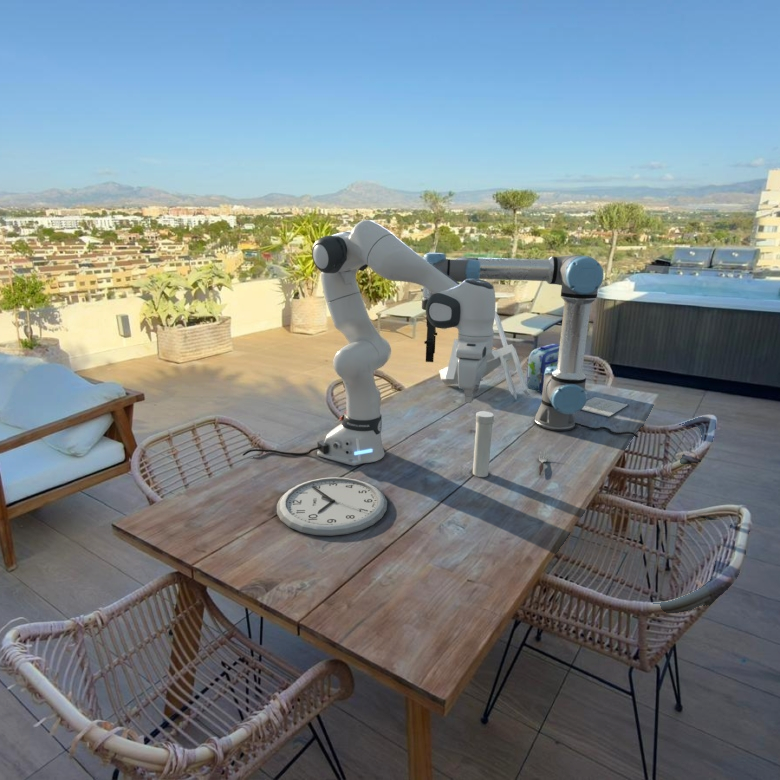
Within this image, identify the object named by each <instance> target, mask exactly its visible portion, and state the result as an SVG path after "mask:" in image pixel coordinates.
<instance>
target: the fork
mask: <svg viewBox="0 0 780 780" xmlns="http://www.w3.org/2000/svg"><path fill="white" fill-rule="evenodd" d="M538 461H539V462H540V465H539V467H538V468H539V469H538V470H539V475H541V474H542V472H543V470H544V463H546V462H547V461H548V451H547V452H546V454H544V452H542V451H540V453H539V457H538Z"/></svg>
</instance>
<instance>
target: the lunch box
mask: <svg viewBox="0 0 780 780" xmlns="http://www.w3.org/2000/svg"><path fill="white" fill-rule="evenodd" d="M559 346H560V344H556V343H551V344H547V345H543V346H540V347H537V348H534V349H533V350H532V351H531V352H530V353H529V356H528V361H527V362H528V363H527V371H526V384H527V387H528V390H531V391H537V392H540V393H541V394H542V392H543V382H544V373H545V369H546V368H547V367H553V366H557V364H558V355H559Z"/></svg>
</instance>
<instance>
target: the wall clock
mask: <svg viewBox="0 0 780 780" xmlns="http://www.w3.org/2000/svg"><path fill="white" fill-rule="evenodd" d="M387 509H388V500H387V498H386V496H385V494H384V493H383V492H382V491H381V490H380V489H379V488H377V487H376V486H374V485H372V484H371V483H369V482H365V481H362V480H359V479H355V478H349V477H338V476H337V477H335V476H333V477H332V476H331V477H322V478H317V479H312V480H307V481H305V482H302V483H299V484H297V485H295V486H293V487H292V488H290V489H288V490H287V491H286V492H285V493H284V494H283V495H281V496H280V498H279V499H278V502H277V503H276V515H277V517H278V518H279V520H280V521H281V522H282V523H283V524H285V525H286V526H287V527H288V528H290V529H293V530H295V531H297V532H299V533H303V534H308V535H312V536H327V537H328V536H329V537H331V536H332V537H333V536H342V535H350V534H352V533H356V532H361V531H363V530H366V529H368V528H369V527H372V526H373V525H375V524H376V523H378V522H379V521H380V520H381V519H382V518H383V517H384V516H385V514H386V512H387Z"/></svg>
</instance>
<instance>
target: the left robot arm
mask: <svg viewBox="0 0 780 780" xmlns="http://www.w3.org/2000/svg"><path fill="white" fill-rule="evenodd" d="M311 257H312V261H313V264H314V266H315V267H316V269H317V270H318V271H320V281H321V287H322V291H323V295H324V296H323V297H324V299H325V303H326V305H327V309H328V311H329V315H330V317H331V320H332V323H333V326H334V328H335V329H336V330H338V331H339V332H341V333H342V335H343V336H344V337H345V338H346V340H347V342H348V344H345V345H344V346H343V347H342V348H340V349H339V350H338V351H337V352H336V353H335V355H334V357H333V360H332V364H333V370H334V371H335V373H336V375H338V377H339V378H341V380H342V382H343V386H344V391H345V405H346V407H345V408H346V410H345V411H344V413H343V414H341V416H340V417H339V422H341V423H340V424H339V425H337V426H335V427H334V428H333V429H331V430H330V431H328V433H327V434H326V436H325V439H324V440H323V439H321V440H317V441H316V442H317V446H316V447H313V448H311V449H309V450H308V451H307V452H289V451H288V452H287V451H280V450H277V449H276V450H275V449H264V448H263V449H262V448H252V449H249V450H247V451H245V452H243V453H242V456H246V455H247V454H250V453H252V452H263V453H276V454H281V455H286V456H287V455H288V456H306V455H310V454H311V453H312V452H314V451H317V456H318V457H321V458H324V459H327V460H331V461H335V462H338V463H340V464H341V463H342V464H346V465H349V466H359V465H362V464H370V463H374V462H378V461H380V460H382V459H383V458H384V457H385V455H386V453H385V450H384V445H383V441H382V428H383V420H382V413H381V391H380V389H379V388H378V387H377V385H376V382H375V377H374V373H375V372H376V371H377V370H379V369H381V368H383V367H384V366H385V365H386V364H387V363H388V361H389V360H390V359H391V356H392V347H391V344H390V343H389V341H388V340H387V339H386V338H384V337H383V336H382V335H381V334H380V333H379V331H378V329H377V328H376V326H375V325H374V323H373V322H372V319H371V318H370V315H369V313H368V311H367V307H366V305H365V302H364V299H363V296H362V293H361V290H360V287H359V285H358V281H357V272H358V271H360V272H364V271H365V270H366V269H367V268H368V267H369V268H370V269H371V270H372V271H373V272H374V273H375V274H377V275H378V276H380V277H381V278H384V279H385V280H387V281H392V282H403V283H410V284H416V285H420V286H422V287H423V286H424V287H426V288H427V289H428V290H430V291H431V292H432V293H434V294H433V295H432V296H431V297H430V298H429V299H428V301H427V304H426V310H425V315H427V318H428V320H429V322H430V323H431V324H432V325H433V326H434V327H436V328H437V329H442V330H443V329H444V330H446V329H451V328H456V329H457V339H458V346H457V349H456V357H457V358H459V359H458V384H457V385H458V388H459V389H460V390H463V394H464V403H466V404H471V403H473V401H474V394H473V393H476V394H478V393H479V391H480V385H481V382H482V381H481V377H482V375H483V374H484V372H485V371H486V363H487V355H488V354H491V353H492V351H493V350H494V349H493V347H494V337H495V333H494V321H495V311H496V290H495V288H494V285H493V284H491V283H490V282H489V281H486V280H485V279H466V280H464V281H463V282H457V281H455V280H454V279H452V278H451V277H450V276H448V275H447V274H446V273H444V272H443V271H441V270H440V269H439V268H437V267H436V266H434V265H433V264H432V263H430V262H428V261H427V260H425V259H424V256H421V255H420V254H418V252H416V251H415V250H413V249H412V248H411V247H409V246H408V245H407V244H406V243H405V242H403V241H402V240H401V239H400V238H398V237H397V236H396V235H395V234H394V233H393V232H391V231H390V230H389V229H387V228H385V227H384V226H383V225H381V224H379V223H377V222H375V221H373V220H371V219H364V220H360V221H359V222H358V223H356V224H355V225H354V226H353V228H352V230H344V231H341V232H338V233H334V234H331V235H324V236H322V237H320V238H319V239H317V240H315V242H314V243H313V245H312V250H311Z"/></svg>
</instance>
